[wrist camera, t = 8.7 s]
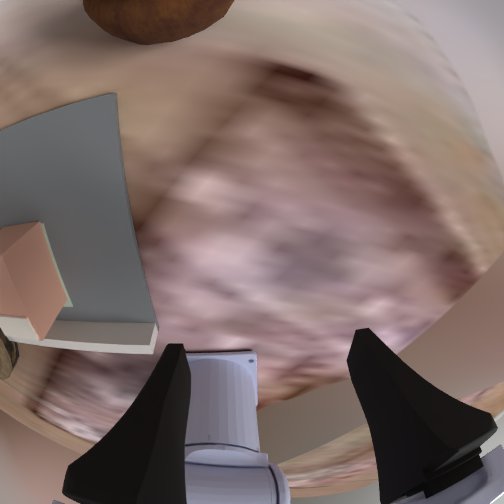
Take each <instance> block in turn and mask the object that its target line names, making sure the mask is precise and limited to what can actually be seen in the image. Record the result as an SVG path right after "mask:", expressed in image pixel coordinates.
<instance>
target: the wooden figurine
mask: <svg viewBox="0 0 504 504" xmlns="http://www.w3.org/2000/svg"><path fill="white" fill-rule="evenodd" d="M233 2H234V0H83V4H84V9H85V11H86V13H87V14H88V15H89V17H90V18H91V19H92V20H93V21H94V22H96V23H97V24H98V25H99V26H100V27H101V28H102V29H103V30H105V31H106V32H108V33H109V34H111V35H113V36H115V37H118V38H121V39H124V40H127V41H131V42H134V43H137V44H141V45H150V44H156V43H163V42H172V41H175V40H179V39H182V38H185V37H189V36H191V35H193V34H195V33H198V32H200V31H202V30H205V29H206V28H208V27H209V26H211V25H212V24H214V23H215V22H217V21H218V20H220V19H221V18H223V17H224V16H225V14H226V13H227V11H228V9H229V8H230V6H231V5H232V3H233Z"/></svg>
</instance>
